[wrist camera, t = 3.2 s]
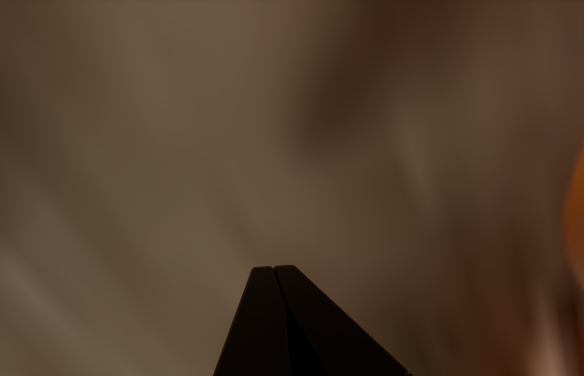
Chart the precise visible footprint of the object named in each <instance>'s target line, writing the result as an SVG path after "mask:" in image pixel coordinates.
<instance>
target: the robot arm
mask: <svg viewBox="0 0 584 376" xmlns="http://www.w3.org/2000/svg"><path fill="white" fill-rule="evenodd" d="M213 376H413V375H412V374H408V370H407V369H406V368H404V367H403V366H402V365H401V364H400V363H399V362H398V361H397V360H396V359H395V358H394V357H393V356H392V355H390V354H389V353H388V352H387V351H386V350H385V349H384V348H383V347H382V346H381V345H380V344H379V343H378V342H376V341H375V340H374V339H373V338H372V337H371V336H370V335H369V334H368V333H367V332H366V331H365V330H364V329H362V328H361V327H360V326H359V325H358V324H357V323H356V322H355V321H354V320H353V319H352V318H351V317H349V316H348V315H347V314H346V313H345V312H344V311H343V310H342V309H341V308H340V307H339V306H338V305H337V304H335V303H334V302H333V301H332V300H331V299H330V298H329V297H328V296H327V295H326V294H325V293H324V292H323V291H321V290H320V289H319V288H318V287H317V286H316V285H315V284H314V283H313V282H312V281H311V280H310V279H309V278H307V277H306V276H305V275H304V274H303V273H302V272H301V271H300V270H299V269H298V268H297V267H295V266H294V265H280V266H275V267H274V269H273V268H272V267H271V266H264V267H254V268H252V270H251V272H250V275H249V278H248V281H247V283H246V286H245V289H244V292H243V294H242V297H241V300H240V303H239V305H238V308H237V311H236V314H235V316H234V319H233V322H232V324H231V327H230V330H229V333H228V335H227V338H226V341H225V344H224V346H223V349H222V352H221V355H220V357H219V360H218V363H217V366H216V368H215V371H214V374H213Z"/></svg>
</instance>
